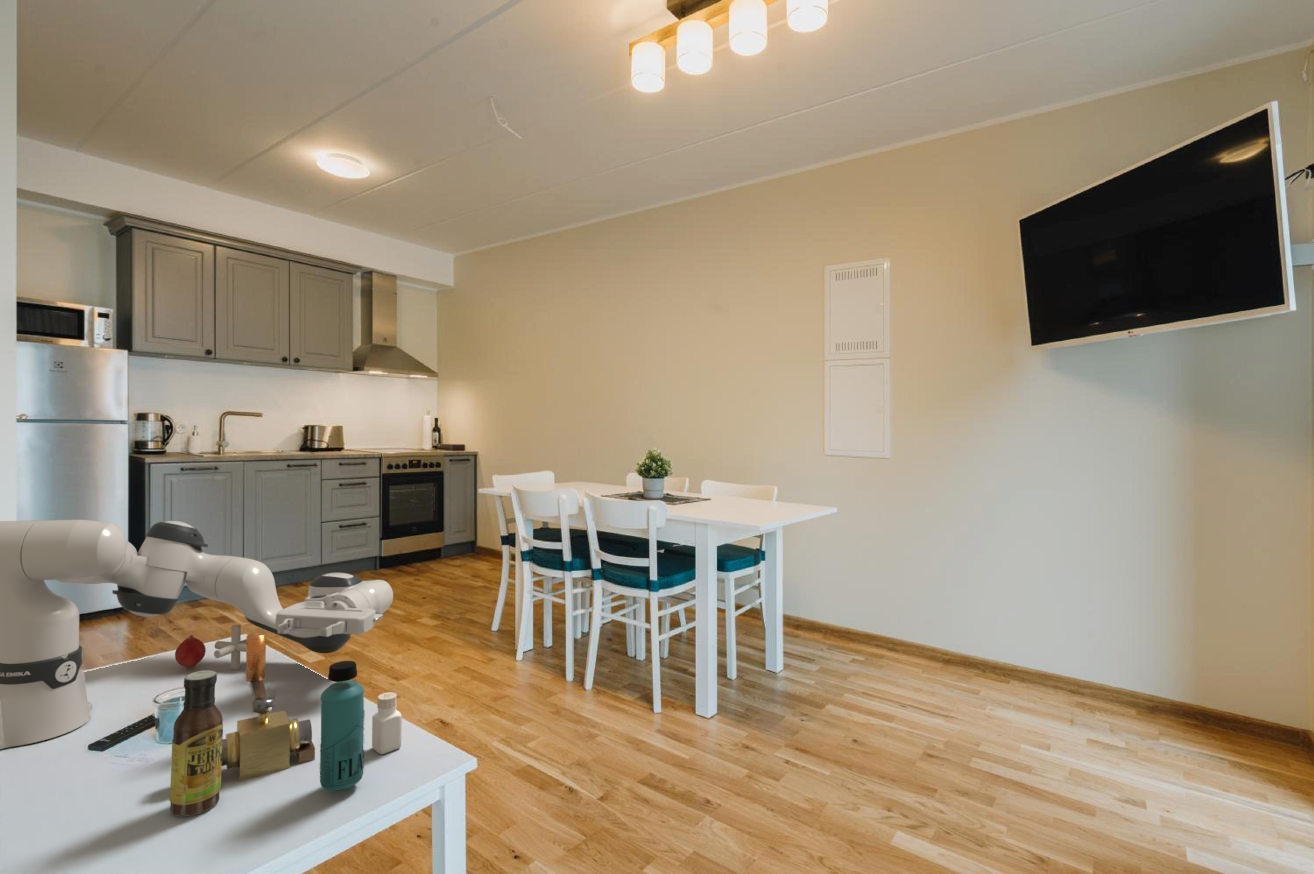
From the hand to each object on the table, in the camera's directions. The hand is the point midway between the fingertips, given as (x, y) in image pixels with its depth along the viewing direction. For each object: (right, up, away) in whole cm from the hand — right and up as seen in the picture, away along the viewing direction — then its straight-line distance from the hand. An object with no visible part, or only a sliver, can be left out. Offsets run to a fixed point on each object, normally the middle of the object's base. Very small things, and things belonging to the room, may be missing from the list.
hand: (301, 631), depth 129 cm
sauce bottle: (+3, -16, -33) cm, 37 cm away
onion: (-38, -15, +20) cm, 45 cm away
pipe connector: (-27, -15, +21) cm, 38 cm away
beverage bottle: (+22, -17, -28) cm, 39 cm away
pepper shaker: (+23, -17, -15) cm, 32 cm away
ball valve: (+4, -16, -23) cm, 28 cm away
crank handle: (+2, -6, -17) cm, 18 cm away
